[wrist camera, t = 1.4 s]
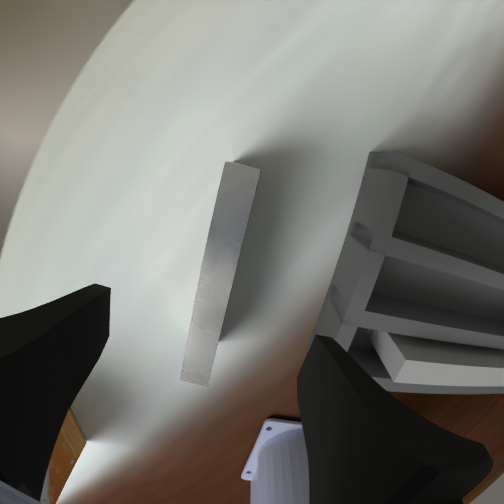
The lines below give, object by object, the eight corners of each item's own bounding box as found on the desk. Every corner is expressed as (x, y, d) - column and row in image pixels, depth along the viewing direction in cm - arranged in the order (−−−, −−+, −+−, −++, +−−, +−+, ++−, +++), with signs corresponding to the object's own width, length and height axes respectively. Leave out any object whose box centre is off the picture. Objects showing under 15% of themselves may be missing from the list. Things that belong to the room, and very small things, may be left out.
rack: (495, 369, 23) (524, 401, 17) (307, 347, 22) (320, 399, 16) (550, 238, 19) (591, 255, 14) (369, 152, 18) (410, 151, 13)
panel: (216, 341, 22) (207, 386, 17) (194, 336, 22) (180, 379, 17) (259, 167, 19) (260, 170, 14) (233, 161, 19) (225, 161, 14)
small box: (88, 441, 26) (43, 535, 13) (43, 429, 26) (-7, 509, 13) (62, 383, 24) (-8, 483, 11) (15, 372, 24) (-55, 453, 11)
